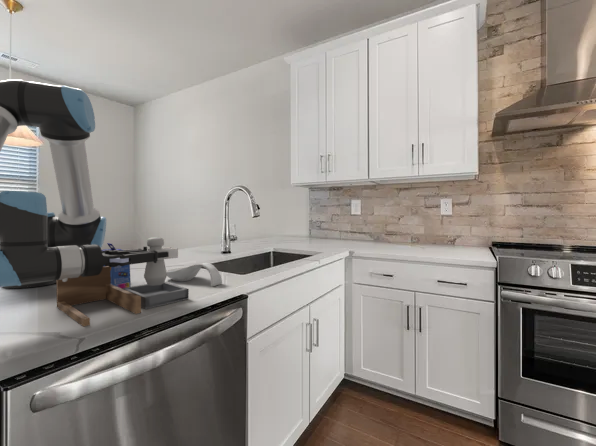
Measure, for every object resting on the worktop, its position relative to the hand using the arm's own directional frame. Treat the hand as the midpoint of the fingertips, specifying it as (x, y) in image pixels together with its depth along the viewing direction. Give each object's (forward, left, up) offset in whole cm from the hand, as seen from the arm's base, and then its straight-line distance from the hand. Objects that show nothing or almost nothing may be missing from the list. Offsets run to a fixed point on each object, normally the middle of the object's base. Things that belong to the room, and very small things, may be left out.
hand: (173, 252), depth 91 cm
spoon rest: (-12, +14, -13) cm, 23 cm away
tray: (0, -5, -13) cm, 14 cm away
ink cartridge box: (-20, -8, -13) cm, 25 cm away
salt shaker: (0, -5, -9) cm, 10 cm away
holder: (-1, -19, -13) cm, 23 cm away
